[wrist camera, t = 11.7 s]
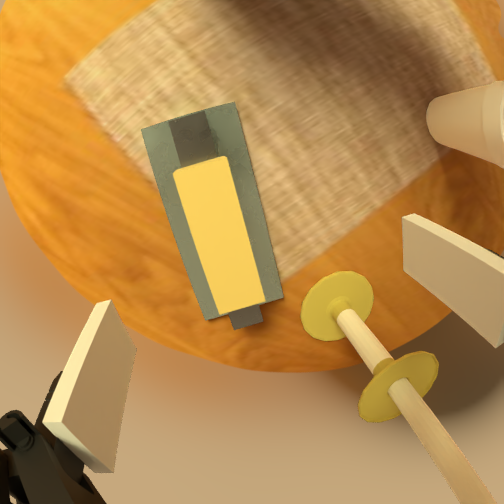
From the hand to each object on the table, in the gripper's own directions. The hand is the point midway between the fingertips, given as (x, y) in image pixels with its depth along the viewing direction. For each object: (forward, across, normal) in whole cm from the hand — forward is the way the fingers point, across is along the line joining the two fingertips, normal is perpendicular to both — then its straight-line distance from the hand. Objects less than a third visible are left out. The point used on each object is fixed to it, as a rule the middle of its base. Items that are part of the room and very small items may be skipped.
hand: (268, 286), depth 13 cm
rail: (+19, -2, -2) cm, 19 cm away
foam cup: (+20, +28, +4) cm, 35 cm away
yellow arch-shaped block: (+18, -2, -2) cm, 18 cm away
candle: (+19, +9, -17) cm, 27 cm away
